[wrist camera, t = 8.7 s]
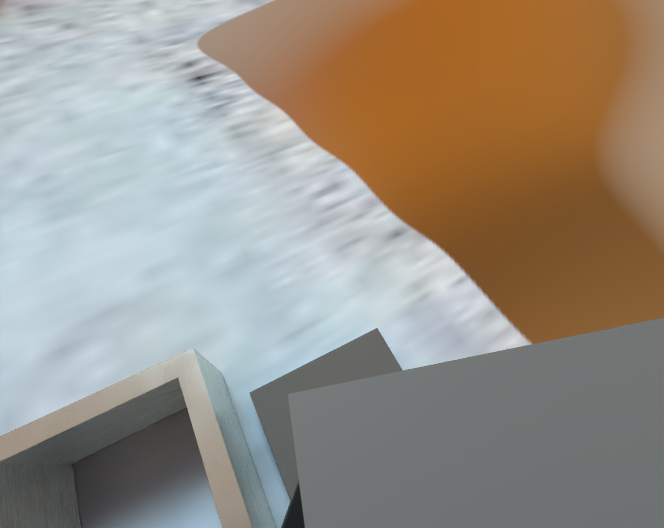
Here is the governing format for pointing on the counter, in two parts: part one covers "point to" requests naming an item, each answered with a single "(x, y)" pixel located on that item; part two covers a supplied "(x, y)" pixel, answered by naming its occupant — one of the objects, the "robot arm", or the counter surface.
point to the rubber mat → (330, 369)
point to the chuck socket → (118, 423)
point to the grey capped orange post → (493, 439)
